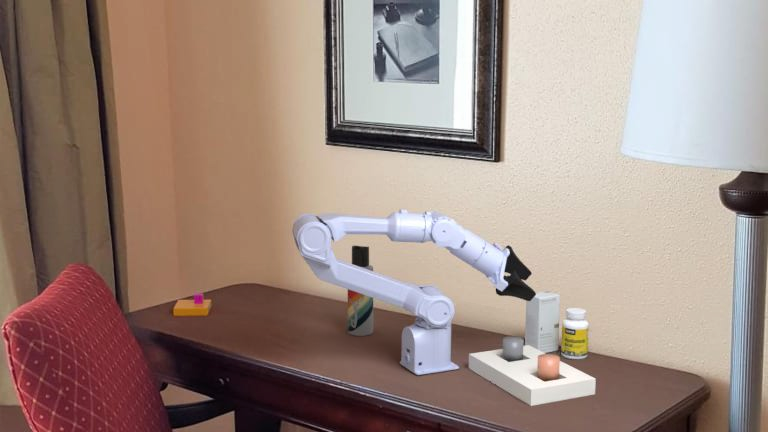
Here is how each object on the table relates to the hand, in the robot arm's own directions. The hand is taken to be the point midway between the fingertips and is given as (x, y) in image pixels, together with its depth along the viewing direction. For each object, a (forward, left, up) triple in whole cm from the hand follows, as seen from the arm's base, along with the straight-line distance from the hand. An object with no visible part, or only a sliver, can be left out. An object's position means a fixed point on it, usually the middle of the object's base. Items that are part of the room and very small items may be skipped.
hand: (530, 286), depth 187 cm
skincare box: (+6, +5, -16) cm, 18 cm away
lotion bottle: (-24, +32, -16) cm, 43 cm away
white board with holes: (-7, -10, -16) cm, 20 cm away
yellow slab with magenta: (-54, +65, -16) cm, 86 cm away
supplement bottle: (+10, -1, -16) cm, 19 cm away
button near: (-7, -16, -13) cm, 22 cm away
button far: (-7, -4, -13) cm, 15 cm away
